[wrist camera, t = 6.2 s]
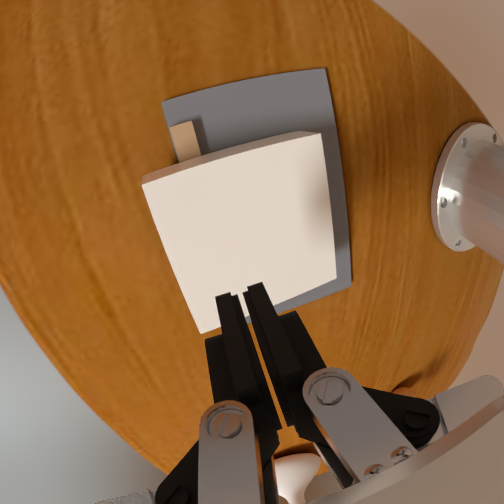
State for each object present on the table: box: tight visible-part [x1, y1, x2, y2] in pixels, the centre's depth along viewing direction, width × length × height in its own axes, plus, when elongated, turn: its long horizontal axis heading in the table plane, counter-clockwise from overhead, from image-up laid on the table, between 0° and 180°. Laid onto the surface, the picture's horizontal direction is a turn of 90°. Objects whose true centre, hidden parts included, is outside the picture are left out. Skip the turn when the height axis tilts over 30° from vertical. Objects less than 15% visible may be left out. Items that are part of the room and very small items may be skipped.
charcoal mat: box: [161, 68, 351, 324], centre depth 18 cm, size 10×16×1 cm, turn 13°
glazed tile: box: [142, 131, 337, 334], centre depth 16 cm, size 3×9×9 cm
